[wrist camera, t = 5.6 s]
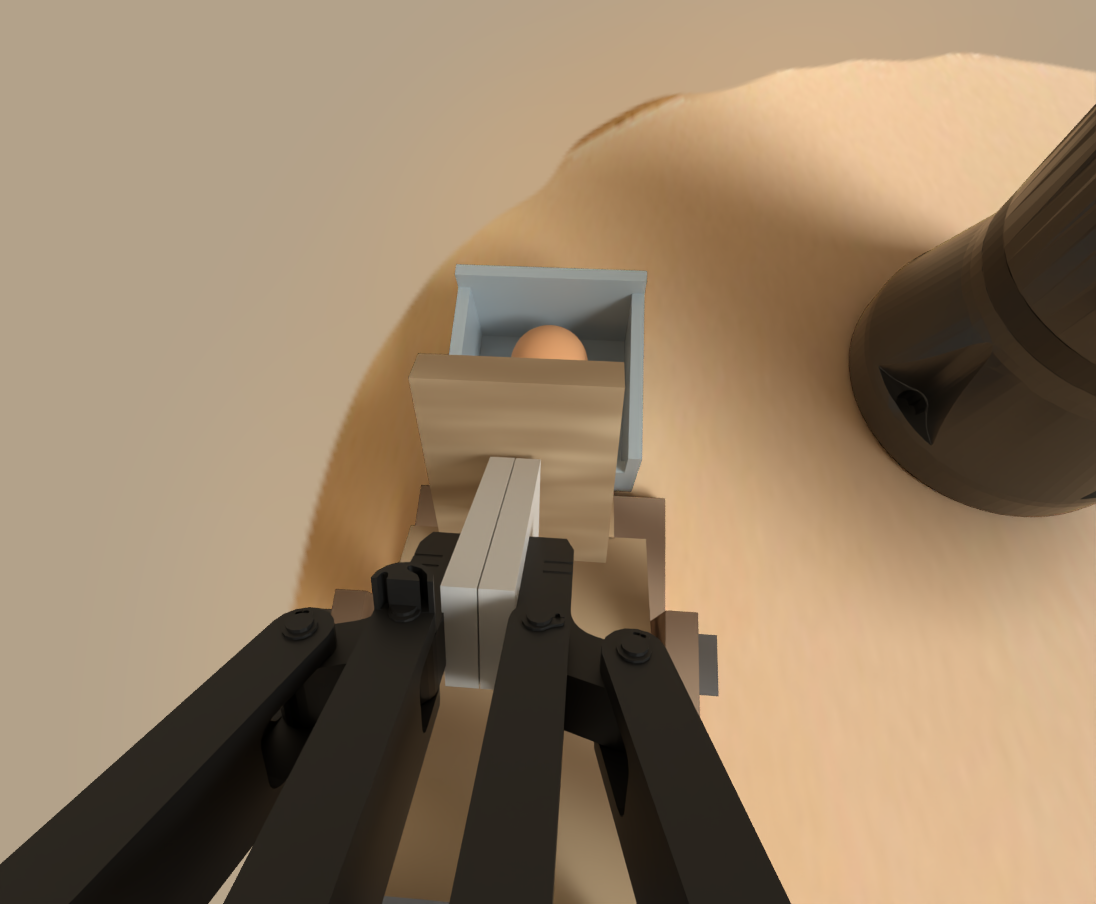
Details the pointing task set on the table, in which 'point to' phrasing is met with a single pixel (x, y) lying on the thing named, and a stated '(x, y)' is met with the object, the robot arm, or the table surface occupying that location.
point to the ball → (550, 344)
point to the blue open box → (572, 303)
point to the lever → (596, 605)
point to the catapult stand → (671, 627)
